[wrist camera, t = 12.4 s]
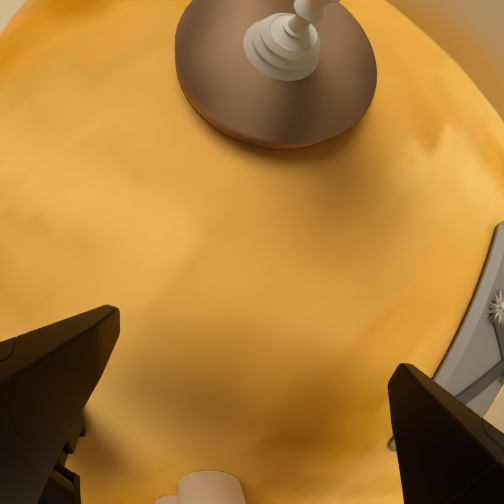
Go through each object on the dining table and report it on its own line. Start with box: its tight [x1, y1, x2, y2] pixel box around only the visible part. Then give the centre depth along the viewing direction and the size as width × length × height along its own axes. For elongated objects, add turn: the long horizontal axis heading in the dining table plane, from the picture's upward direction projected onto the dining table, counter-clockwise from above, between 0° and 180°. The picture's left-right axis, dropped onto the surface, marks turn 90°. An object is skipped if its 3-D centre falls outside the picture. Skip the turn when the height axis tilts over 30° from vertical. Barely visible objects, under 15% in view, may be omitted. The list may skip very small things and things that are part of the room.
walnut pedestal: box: [175, 0, 377, 150], centre depth 17 cm, size 14×14×2 cm
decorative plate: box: [390, 221, 504, 451], centre depth 26 cm, size 30×22×7 cm
